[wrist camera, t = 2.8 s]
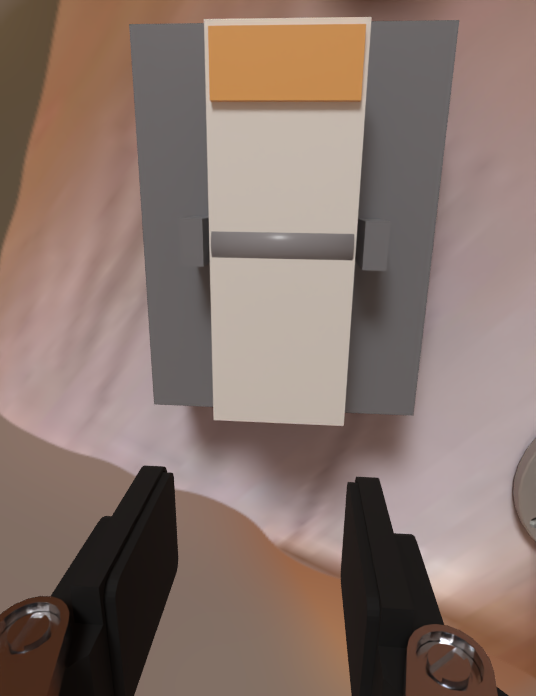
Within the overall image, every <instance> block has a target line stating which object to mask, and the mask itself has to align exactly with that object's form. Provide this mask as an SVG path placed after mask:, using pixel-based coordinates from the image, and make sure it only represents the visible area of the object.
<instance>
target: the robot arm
mask: <svg viewBox="0 0 536 696" xmlns="http://www.w3.org/2000/svg"><path fill="white" fill-rule="evenodd" d="M513 496H514V503H515V509H516V511H517V514H518V516H519V519H520V521H521V523H522V524H523V526H524V527H525V529H526V530H527V532H528V533H529V535H530V536H531V537H532V539H533V540H534V541H535V542H536V438H535V440H534V441H533V442H532V443H531V445H530V446H529V447H528V448H527V450H526V452H525V454H524V455H523V457H522V459H521V461H520V463H519V465H518V469H517V472H516V475H515V478H514V489H513ZM177 567H178V545H177V526H176V508H175V489H174V475H173V473H167V470H166V467H161V466H143V467H142V468H141V469H140V471H139V473H138V474H137V476H136V478H135V479H134V481H133V483H132V484H131V486H130V487H129V489H128V491H127V492H126V494H125V496H124V497H123V499H122V500H121V502H120V504H119V505H118V507H117V509H116V510H115V512H114V513H113V515H112V516H104V517H102V518H101V519H100V521H99V522H98V523H97V525H96V526H95V528H94V530H93V531H92V533H91V534H90V536H89V537H88V539H87V540H86V542H85V544H84V545H83V547H82V548H81V550H80V551H79V553H78V554H77V556H76V558H75V559H74V561H73V562H72V564H71V565H70V567H69V568H68V570H67V572H66V573H65V575H64V576H63V578H62V579H61V581H60V583H59V584H58V586H57V587H56V589H55V590H54V592H53V593H52V595H51V596H38V597H33V598H28V599H25V600H23V601H21V602H19V603H16V604H14V605H13V606H11V607H9V608H8V609H6V610H5V611H3V612H2V613H1V614H0V696H134V694H135V691H136V688H137V685H138V682H139V680H140V677H141V674H142V671H143V668H144V665H145V662H146V659H147V656H148V653H149V650H150V648H151V645H152V641H153V639H154V636H155V633H156V630H157V627H158V625H159V622H160V619H161V616H162V613H163V610H164V607H165V604H166V601H167V598H168V595H169V593H170V590H171V587H172V584H173V581H174V578H175V575H176V572H177ZM341 588H342V598H343V609H344V619H345V630H346V641H347V651H348V662H349V672H350V682H351V693H352V696H508V695H507V694H505V693H504V692H503V691H501V690H500V689H499V688H497V687H496V681H495V675H494V670H493V667H492V664H491V661H490V659H489V657H488V656H487V654H486V652H485V651H484V649H483V648H482V647H481V646H480V645H479V644H478V643H477V642H476V641H475V640H474V639H473V638H472V637H470V636H468V635H467V634H465V633H463V632H462V631H460V630H458V629H455V628H452V627H450V626H447V625H444V623H443V620H442V617H441V614H440V611H439V608H438V605H437V602H436V599H435V596H434V593H433V590H432V587H431V583H430V580H429V577H428V574H427V571H426V568H425V565H424V562H423V559H422V556H421V553H420V550H419V547H418V544H417V541H416V539H415V536H413V535H412V534H396V533H394V532H393V529H392V525H391V521H390V517H389V514H388V510H387V506H386V503H385V499H384V495H383V491H382V488H381V484H380V480H379V478H371V477H356V480H355V483H354V482H348V484H347V494H346V507H345V521H344V535H343V548H342V562H341Z"/></svg>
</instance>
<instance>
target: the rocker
mask: <svg viewBox="0 0 536 696" xmlns="http://www.w3.org/2000/svg"><path fill="white" fill-rule="evenodd" d="M371 18H372V17H333V18H254V19H204V42H205V84H206V125H207V167H208V208H209V250H210V291H211V333H212V374H213V415H214V420H223V421H245V422H267V423H289V424H311V425H333V426H344V415H345V401H346V386H347V371H348V356H349V342H350V327H351V312H352V297H353V283H354V268H355V253H356V238H357V224H358V209H359V194H360V180H361V165H362V150H363V135H364V121H365V106H366V91H367V76H368V62H369V47H370V32H371Z"/></svg>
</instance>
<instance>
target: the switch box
mask: <svg viewBox="0 0 536 696" xmlns="http://www.w3.org/2000/svg"><path fill="white" fill-rule="evenodd" d="M129 26H130V42H131V57H132V72H133V88H134V103H135V118H136V134H137V149H138V164H139V180H140V195H141V210H142V226H143V241H144V256H145V272H146V287H147V302H148V317H149V333H150V348H151V363H152V379H153V394H154V404H160V405H183V406H206V407H213V374H212V333H211V291H210V250H209V208H208V167H207V125H206V84H205V42H204V23H190V24H129ZM458 26H459V20H436V21H371V32H370V47H369V62H368V76H367V91H366V106H365V121H364V135H363V150H362V165H361V180H360V194H359V209H358V224H357V238H356V253H355V268H354V283H353V297H352V312H351V327H350V342H349V356H348V371H347V386H346V401H345V413H367V414H390V415H413V414H414V405H415V396H416V388H417V379H418V371H419V362H420V353H421V345H422V336H423V328H424V319H425V310H426V302H427V293H428V285H429V276H430V267H431V259H432V250H433V242H434V233H435V224H436V216H437V207H438V199H439V190H440V181H441V173H442V164H443V156H444V147H445V138H446V130H447V121H448V113H449V104H450V95H451V87H452V78H453V69H454V61H455V52H456V44H457V35H458Z"/></svg>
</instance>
